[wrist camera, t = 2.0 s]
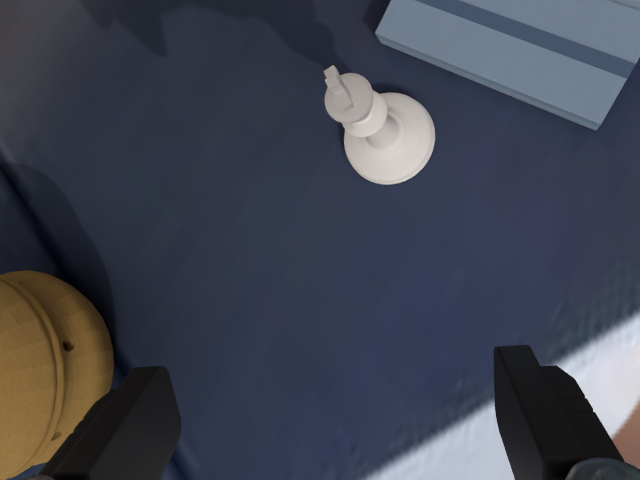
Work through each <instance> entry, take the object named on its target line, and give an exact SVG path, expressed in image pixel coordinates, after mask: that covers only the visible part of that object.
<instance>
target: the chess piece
mask: <svg viewBox="0 0 640 480" xmlns="http://www.w3.org/2000/svg"><path fill="white" fill-rule="evenodd" d="M324 73H325V76H326V78H327V79H325V82H326V84H327V86H328V88H327V90H326V94H325V107H326V110H327V112H328V113H329V115H330V116H331V117H332V118H333V119H334V120H336V121H338V122H341V123H342V125H343V127H344V128H345V133H344V147H345V152H346V155H347V157H348V160H349V161H350V163H351V165H352V166H353V168H354V169H355V170H356V171H357V172H358V173H359V174H360V175H361V176H362V177H364V178H365V179H367V180H369V181H371V182H374V183H378V184H396V183H400V182H403V181H406V180H408V179H410V178H411V177H413V176H415V175H416V174H417V173H418V172H419V171H420V170H421V169H422V168H423V167H424V166H425V165H426V163H427V162H428V160H429V158H430V156H431V154H432V151H433V148H434V143H435V129H434V125H433V121H432V119H431V117H430V115H429V113H428V112H427V110H426V109H425V108H424V107H423V106H422V105H421V104H420V103H419V102H417V101H416V100H414V99H413V98H411V97H409V96H407V95H404V94H400V93H382V94H379V93H377V92H375V91H373V90H372V87H371V85H370V83H369V82H368V81H367V79H365V78H364V77H363V76H361V75H359V74H356V73H346V74H343V75H339V73H338V70H337V69H336V68H335V66H334V65H333V66H331V67H329V68H328V69H326V70H325V71H324Z"/></svg>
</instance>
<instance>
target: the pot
mask: <svg viewBox="0 0 640 480" xmlns="http://www.w3.org/2000/svg"><path fill="white" fill-rule="evenodd" d="M113 370H114V358H113V347H112V343H111V339H110V334H109V331H108V329H107V327H106V325H105V322H104V320H103V318H102V316H101V315H100V314H99V312H98V311H97V310H96V308H95V307H94V306H93V304H92V303H91V302H90V301H89V300H88V299H87V298H86V297H85V296H83V295H82V294H81V293H80V292H79V291H78V290H77V289H75V288H74V287H73V286H71V285H70V284H68V283H66V282H64V281H62V280H60V279H58V278H56V277H54V276H52V275H50V274H46V273H41V272H36V271H30V270H25V271H16V272H9V273H6V274H3V275H0V480H6V479H7V478H11V477H15V476H16V475H18V474H19V473H21V472H23V471H24V470H26V469H27V468H29V467H31V466H32V465H37V464H41V463H45V462H48V461H49V460H50V459H51V457H52V456H53V455H54V454H55V452H56V451H57V450H58V449H59V447H60V446H61V445H62V444H63V442H64V441H65V440H66V438H67V437H68V436H69V435H70V433H73V430H74V428H75V427H76V426H77V425H78V423H79V422H80V421H82V420H83V417H84V416H85V414H86V413H87V412H88V411H89V409H90V408H91V407H92V406H93V404H94V403H95V402H96V401H98V400H99V399H100V398H102V397H103V396H104V395H106V394H107V393H108V392H109V391H110V388H111V384H112V378H113Z"/></svg>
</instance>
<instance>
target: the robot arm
mask: <svg viewBox="0 0 640 480" xmlns="http://www.w3.org/2000/svg"><path fill="white" fill-rule="evenodd" d="M494 391H495V411H496V418H497V423H498V428H499V432H500V435H501V438H502V441H503V444H504V447H505V450H506V453H507V456H508V459H509V462H510V465H511V468H512V472H513V475H514V478H515V480H640V469H638V468H636V467H635V466H633V465H630V464H628V463H625V461H624V460H623V458H622V456H621V455H620V453H619V451H618V450H617V448H616V446H615V445H614V443H613V441H612V440H611V438H610V436H609V435H608V433H607V431H606V430H605V428H604V427H603V425H602V423H601V422H600V420H599V418H598V417H597V415H596V413H595V412H593V408H592V407H591V405H590V403H589V402H588V400H587V398H585V395H584V394H583V392H582V390H581V389H580V387H579V385H578V384H577V382H576V380H575V379H574V378H573V377H571V376H570V375H569V374H567V373H566V372H564V371H563V370H562V369H560V368H559V367H558V366H540V365H539V363H538V361H537V359H536V357H535V355H534V353H533V351H532V350H531V348H530V346H529V345H517V346H501V347H495V348H494ZM180 433H181V417H180V413H179V409H178V406H177V402H176V398H175V394H174V391H173V387H172V383H171V379H170V376H169V373H168V370H167V369H166V368H165V367H164V366H154V367H138V368H133V369H132V370H131V371H130V372H129V373H128V375H127V376H126V377H125V379H124V380H123V381H122V383H121V384H120V385H119V386H118V388H117V389H112V390H111V391H110V392H108V393H107V394H106V395H104V396H103V397H102V398H100V399H99V400H98V401H96V402H95V403H94V404H93V406H92V407H91V408H90V409H89V411H88V412H87V413H86V414H85V416H84V417H83V420H82V421H80V422H79V423H78V425H77V426H76V427H75V428H74V430H73V433H70V435H69V436H68V437H67V438H66V440H65V441H64V442H63V444H62V445H61V446H60V447H59V449H58V450H57V451H56V452H55V454H54V455H53V456H52V457H51V459H50V460H49V461H48V463H47V464H46V465H45V466H44V468H43V469H42V470H41V471H40V473H39V474H38V475H34V476H29V477H25V478H22V479H20V480H160V478H161V476H162V474H163V472H164V470H165V468H166V466H167V464H168V462H169V460H170V458H171V456H172V454H173V452H174V450H175V448H176V446H177V444H178V441H179V438H180Z"/></svg>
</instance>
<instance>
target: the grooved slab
mask: <svg viewBox="0 0 640 480" xmlns="http://www.w3.org/2000/svg"><path fill="white" fill-rule="evenodd" d="M375 34H376V36H377V38H378V39H379V41H380V42H381V43H382V44H384V45H387V46H389V47H392V48H394V49H397V50H399V51H402V52H404V53H406V54H409V55H411V56H414V57H416V58H419V59H421V60H424V61H426V62H429V63H431V64H433V65H436V66H438V67H441V68H443V69H446V70H448V71H451V72H453V73H455V74H458V75H460V76H463V77H465V78H468V79H470V80H473V81H475V82H477V83H480V84H482V85H485V86H487V87H490V88H492V89H495V90H497V91H500V92H502V93H504V94H507V95H509V96H512V97H514V98H517V99H519V100H522V101H524V102H526V103H529V104H531V105H534V106H536V107H539V108H541V109H544V110H546V111H549V112H551V113H553V114H556V115H558V116H561V117H563V118H566V119H568V120H571V121H573V122H575V123H578V124H580V125H583V126H585V127H588V128H590V129H593V130H597V129H598V127H599V126H600V125H601V123H602V122H603V120H604V118H605V116H606V115H607V113H608V111H609V109H610V108H611V106H612V104H613V102H614V101H615V99H616V97H617V95H618V94H619V92H620V90H621V88H622V87H623V85H624V83H625V81H626V80H627V78H628V76H629V75H630V73H631V71H632V69H633V68H634V66H635V64H636V62H637V61H638V59H639V57H640V0H391V1H390V3H389V5H388V7H387V9H386V11H385V14H384V16H383V18H382V20H381V22H380V24H379V26H378V28H377V30H376V32H375Z"/></svg>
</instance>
